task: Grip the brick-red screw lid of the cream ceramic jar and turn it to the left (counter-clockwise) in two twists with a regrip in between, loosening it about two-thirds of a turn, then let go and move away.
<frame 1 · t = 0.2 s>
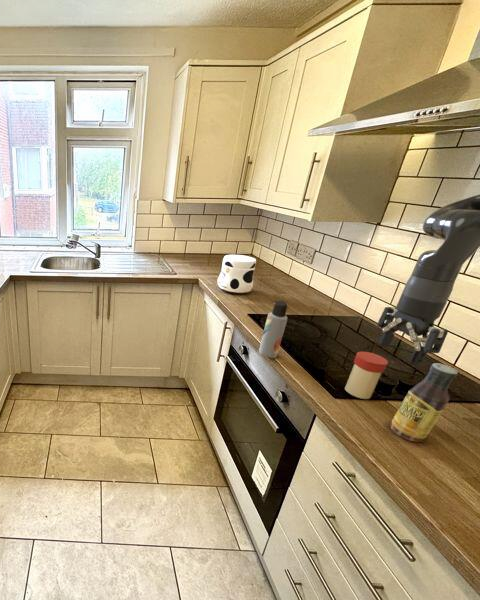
hand: (397, 354, 81), 17 cm above the worktop, tool pointing down, fingers open, 8 cm apart
sauce bottle: (406, 434, 78), on the worktop
lotion bottle: (267, 354, 112), on the worktop
jar lid: (371, 359, 88), point 11 cm above the worktop, screwed on, not yet turned
jar: (357, 392, 92), on the worktop
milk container: (233, 290, 171), on the worktop
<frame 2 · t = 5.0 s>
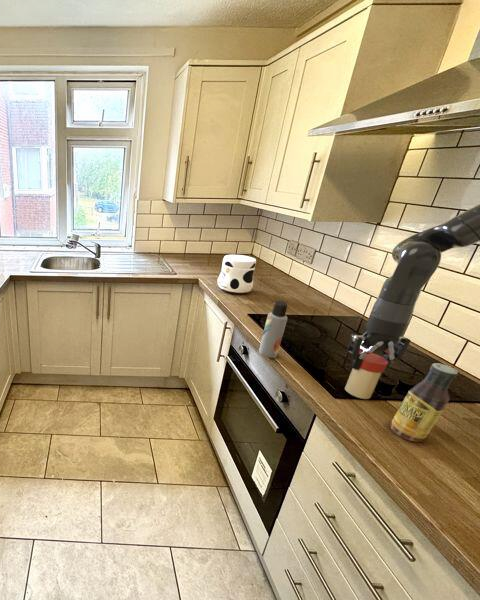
hand: (367, 368, 89), 8 cm above the worktop, tool pointing down, fingers closed on jar lid, 6 cm apart
jar lid: (371, 359, 88), point 11 cm above the worktop, screwed on, not yet turned, touching gripper
everything else where it was.
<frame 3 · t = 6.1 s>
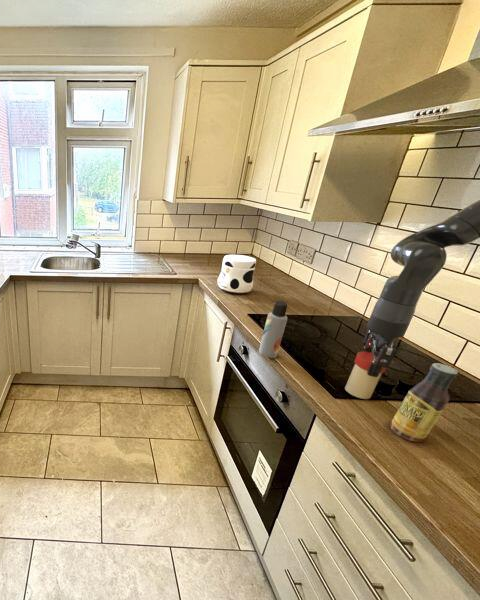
hand: (368, 368, 89), 8 cm above the worktop, tool pointing down, fingers closed on jar lid, 6 cm apart
jar lid: (372, 359, 88), point 11 cm above the worktop, turned 65° so far, risen 0.1 cm, still on its thread, touching gripper
everything else where it was.
when the fingers open (7 cm above the worktop, at t = 7.8 s): jar lid stays where it is, point 11 cm above the worktop.
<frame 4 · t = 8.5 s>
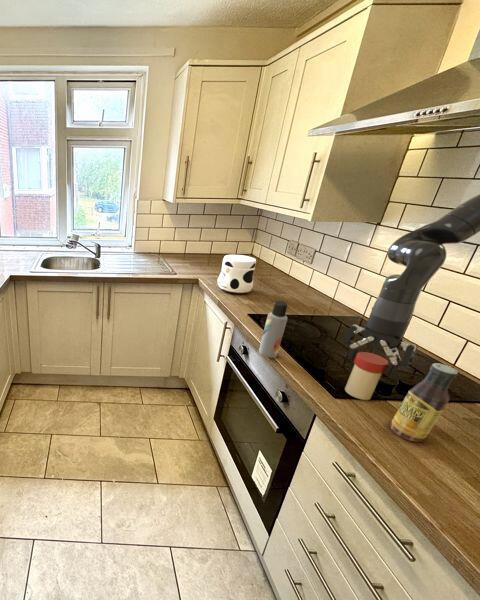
hand: (369, 366, 89), 9 cm above the worktop, tool pointing down, fingers open, 8 cm apart
jar lid: (371, 360, 88), point 11 cm above the worktop, turned 116° so far, risen 0.1 cm, still on its thread
everything else where it was.
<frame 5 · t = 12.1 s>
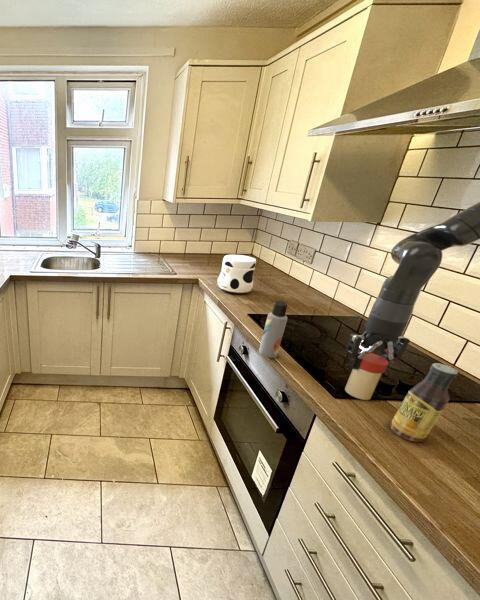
hand: (366, 368, 89), 8 cm above the worktop, tool pointing down, fingers closed on jar lid, 6 cm apart
jar lid: (371, 359, 88), point 11 cm above the worktop, turned 116° so far, risen 0.1 cm, still on its thread, touching gripper
everything else where it was.
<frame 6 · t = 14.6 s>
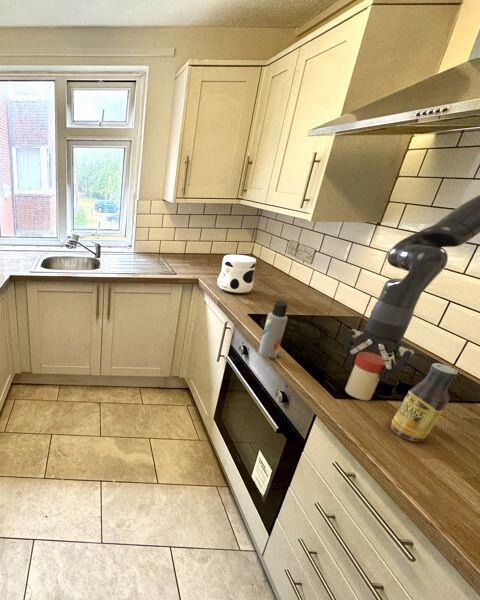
hand: (366, 371, 89), 8 cm above the worktop, tool pointing down, fingers closed on jar lid, 6 cm apart
jar lid: (371, 359, 87), point 12 cm above the worktop, turned 234° so far, risen 0.2 cm, still on its thread, touching gripper
everything else where it was.
when the fingers open (7 cm above the worktop, at t = 15.2 s): jar lid stays where it is, point 12 cm above the worktop.
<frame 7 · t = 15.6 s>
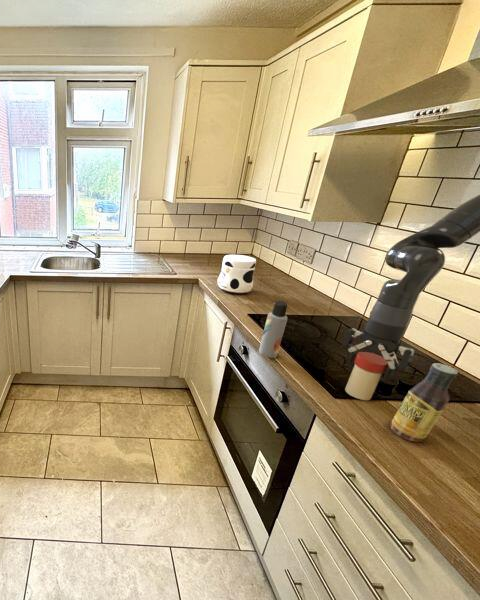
hand: (367, 370, 89), 8 cm above the worktop, tool pointing down, fingers open, 8 cm apart
jar lid: (371, 359, 87), point 12 cm above the worktop, turned 234° so far, risen 0.2 cm, still on its thread
everything else where it was.
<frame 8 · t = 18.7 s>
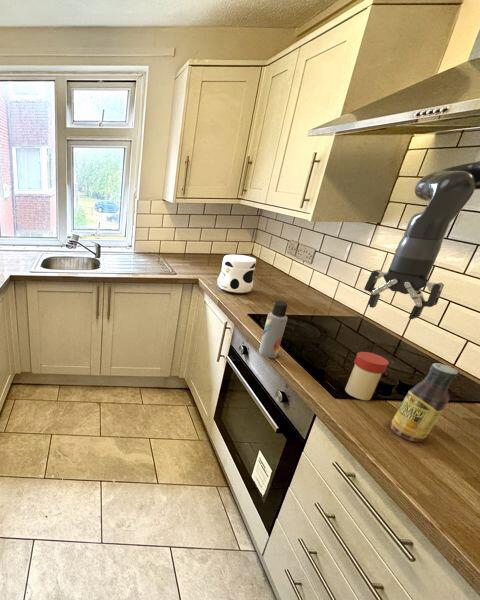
hand: (391, 312, 87), 24 cm above the worktop, tool pointing down, fingers open, 8 cm apart
nothing on the worktop moved.
at the end: jar lid turned 0.65 turns (still on its thread); the gripper is holding nothing; jar moved 0.6 cm from its start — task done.
